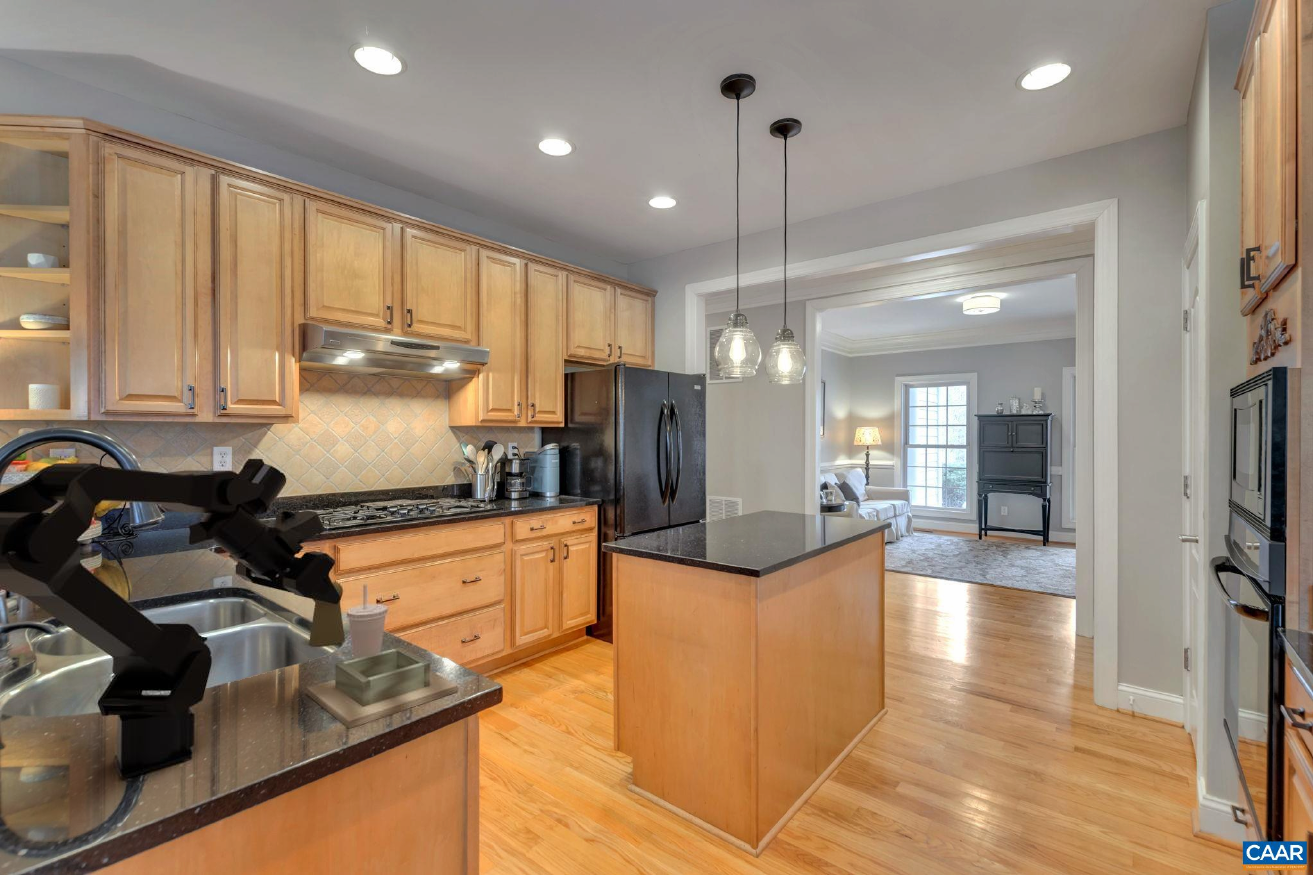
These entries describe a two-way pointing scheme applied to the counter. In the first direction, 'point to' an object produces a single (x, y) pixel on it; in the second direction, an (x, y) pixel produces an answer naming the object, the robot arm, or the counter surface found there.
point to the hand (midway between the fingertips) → (322, 597)
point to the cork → (327, 623)
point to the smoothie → (366, 627)
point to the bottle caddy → (379, 687)
